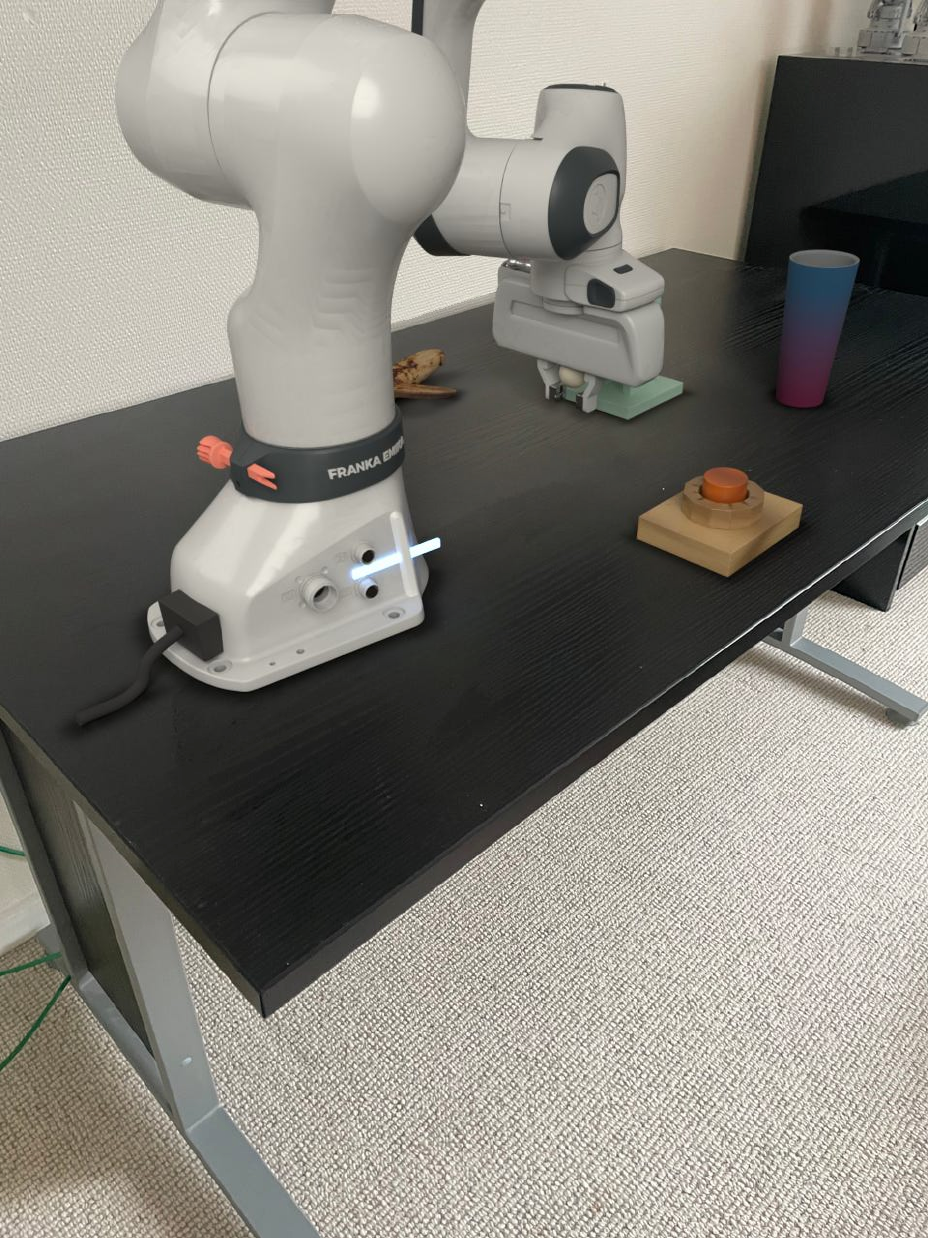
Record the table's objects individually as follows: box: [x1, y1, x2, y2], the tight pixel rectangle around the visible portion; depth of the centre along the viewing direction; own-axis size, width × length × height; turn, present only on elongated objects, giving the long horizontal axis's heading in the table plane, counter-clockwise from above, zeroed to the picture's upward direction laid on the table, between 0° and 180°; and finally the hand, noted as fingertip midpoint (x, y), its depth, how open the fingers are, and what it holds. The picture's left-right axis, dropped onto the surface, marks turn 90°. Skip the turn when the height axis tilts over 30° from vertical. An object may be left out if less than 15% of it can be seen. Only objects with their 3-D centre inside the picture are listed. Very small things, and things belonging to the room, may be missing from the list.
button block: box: [636, 475, 804, 578], centre depth 80 cm, size 11×9×4 cm
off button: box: [702, 466, 749, 504], centre depth 79 cm, size 4×4×2 cm
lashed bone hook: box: [392, 348, 458, 400], centre depth 107 cm, size 9×5×18 cm
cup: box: [775, 249, 861, 408], centre depth 100 cm, size 7×7×15 cm
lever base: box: [564, 295, 684, 421], centre depth 104 cm, size 10×9×12 cm
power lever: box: [558, 365, 586, 388], centre depth 100 cm, size 13×3×3 cm, turn 134°
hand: (570, 404), depth 101 cm, fingers open, 3 cm apart
